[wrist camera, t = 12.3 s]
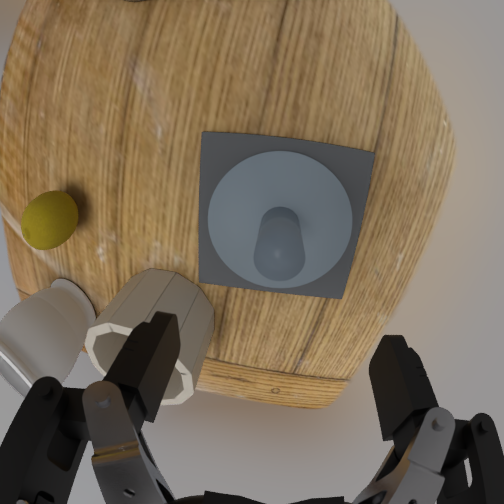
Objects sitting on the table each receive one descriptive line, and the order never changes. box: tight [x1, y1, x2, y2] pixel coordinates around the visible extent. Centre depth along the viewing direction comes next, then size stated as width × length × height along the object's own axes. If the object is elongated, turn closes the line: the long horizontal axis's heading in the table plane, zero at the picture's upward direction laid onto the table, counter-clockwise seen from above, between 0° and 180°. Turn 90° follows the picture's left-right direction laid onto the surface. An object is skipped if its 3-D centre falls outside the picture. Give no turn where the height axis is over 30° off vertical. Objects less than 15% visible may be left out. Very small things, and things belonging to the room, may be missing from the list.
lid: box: [208, 151, 352, 288], centre depth 20 cm, size 12×12×7 cm
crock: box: [85, 269, 214, 405], centre depth 25 cm, size 11×11×9 cm
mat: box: [199, 132, 375, 299], centre depth 23 cm, size 14×14×1 cm
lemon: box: [21, 191, 78, 250], centre depth 21 cm, size 6×6×8 cm
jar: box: [0, 279, 96, 398], centre depth 25 cm, size 11×10×15 cm
